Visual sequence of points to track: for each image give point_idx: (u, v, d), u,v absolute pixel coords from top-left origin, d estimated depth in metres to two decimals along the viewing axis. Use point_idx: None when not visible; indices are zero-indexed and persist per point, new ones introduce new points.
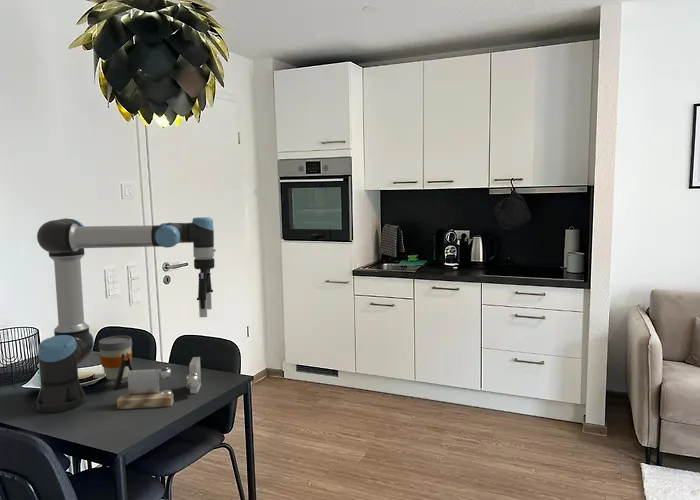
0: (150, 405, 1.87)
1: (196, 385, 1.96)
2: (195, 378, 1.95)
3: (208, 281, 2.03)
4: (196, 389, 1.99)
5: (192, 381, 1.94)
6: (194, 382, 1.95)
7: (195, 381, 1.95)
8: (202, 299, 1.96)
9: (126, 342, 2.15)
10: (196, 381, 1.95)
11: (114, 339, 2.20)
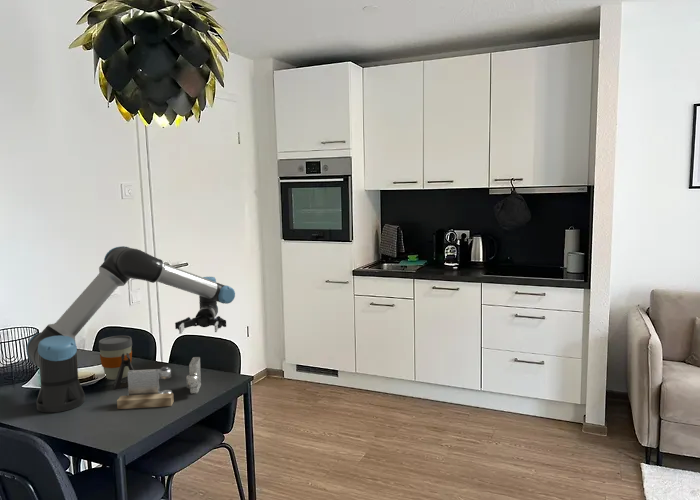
0: (150, 405, 1.87)
1: (196, 385, 1.96)
2: (195, 378, 1.95)
3: (209, 325, 2.25)
4: (196, 389, 1.99)
5: (192, 381, 1.94)
6: (194, 382, 1.95)
7: (195, 381, 1.95)
8: (224, 324, 2.20)
9: (126, 342, 2.15)
10: (196, 381, 1.95)
11: (114, 339, 2.20)
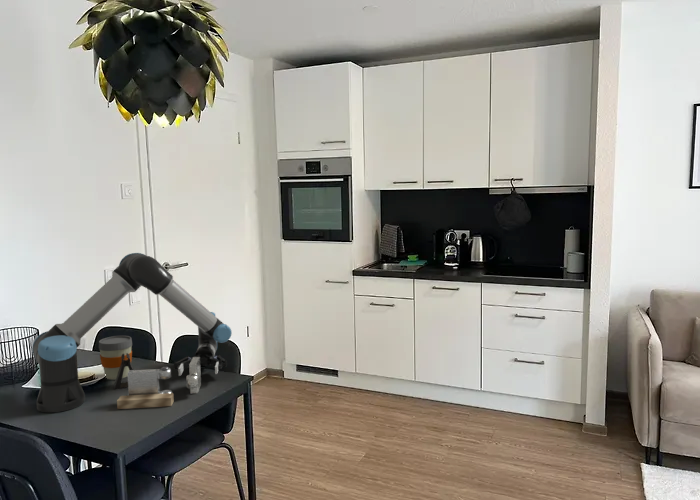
0: (150, 405, 1.87)
1: (196, 385, 1.96)
2: (195, 378, 1.95)
3: (209, 364, 2.19)
4: (196, 389, 1.99)
5: (192, 381, 1.94)
6: (194, 382, 1.95)
7: (195, 381, 1.95)
8: (224, 364, 2.14)
9: (126, 342, 2.15)
10: (196, 381, 1.95)
11: (114, 339, 2.20)
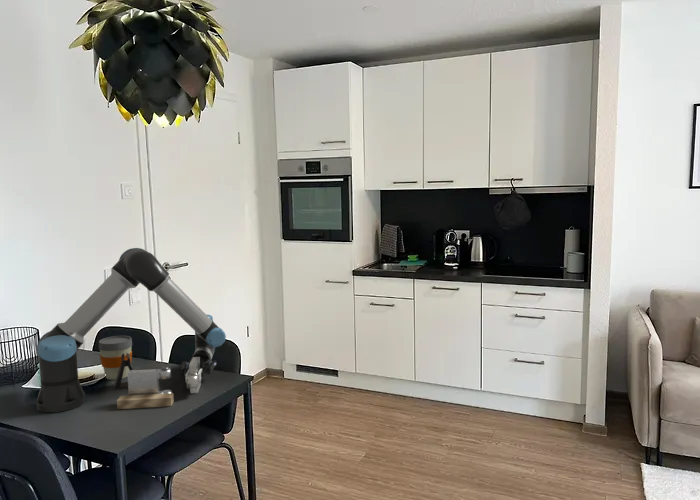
0: (150, 405, 1.87)
1: (196, 385, 1.96)
2: (195, 378, 1.95)
3: None
4: (196, 389, 1.99)
5: (192, 381, 1.94)
6: (193, 382, 1.95)
7: (195, 381, 1.95)
8: (208, 371, 2.05)
9: (126, 342, 2.15)
10: (196, 381, 1.95)
11: (114, 339, 2.20)
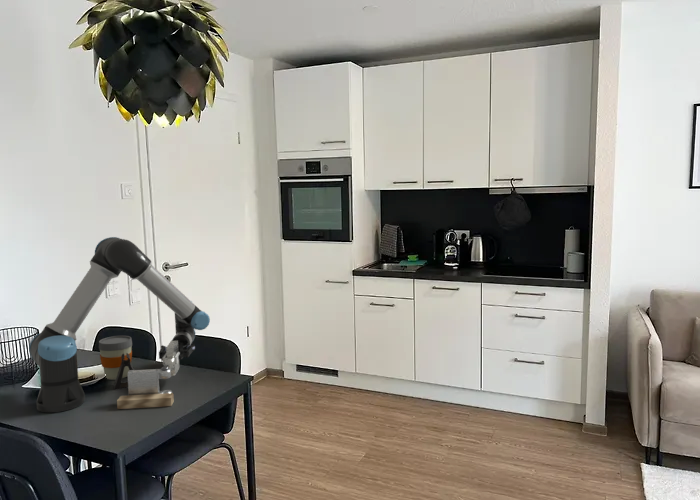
0: (150, 405, 1.87)
1: (173, 367, 1.98)
2: (172, 360, 1.97)
3: None
4: (173, 372, 2.02)
5: (169, 363, 1.97)
6: (170, 364, 1.97)
7: (172, 364, 1.97)
8: (186, 355, 2.07)
9: (126, 342, 2.15)
10: (173, 363, 1.98)
11: (114, 339, 2.20)
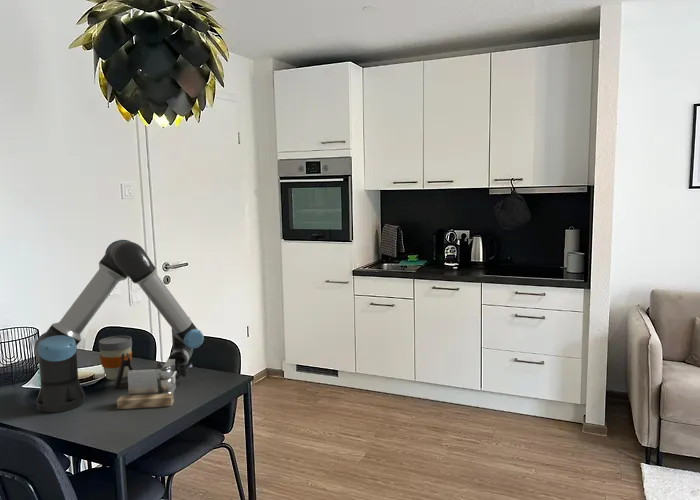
0: (150, 405, 1.87)
1: (169, 388, 1.93)
2: (168, 380, 1.92)
3: None
4: None
5: (165, 384, 1.91)
6: (167, 384, 1.92)
7: (168, 384, 1.92)
8: (183, 374, 2.02)
9: (126, 342, 2.15)
10: (169, 384, 1.92)
11: (114, 339, 2.20)
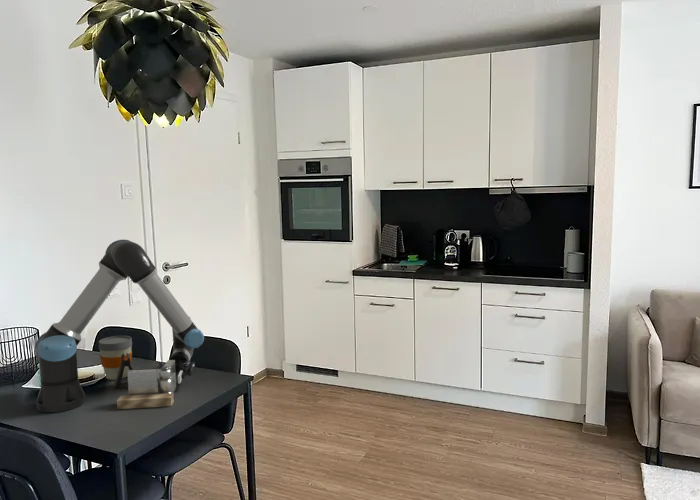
0: (150, 405, 1.87)
1: (170, 389, 1.92)
2: (168, 381, 1.92)
3: None
4: None
5: (165, 384, 1.91)
6: (167, 385, 1.91)
7: (168, 385, 1.92)
8: (188, 373, 2.02)
9: (126, 342, 2.15)
10: (169, 384, 1.92)
11: (114, 339, 2.20)
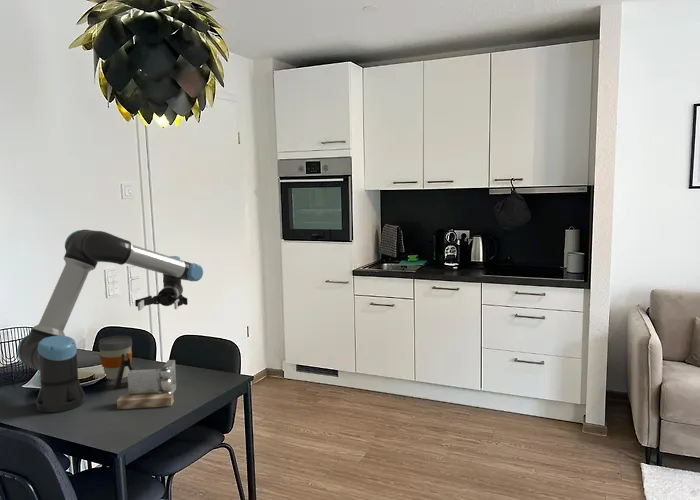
0: (150, 405, 1.87)
1: (170, 389, 1.92)
2: (168, 381, 1.92)
3: (171, 303, 2.22)
4: None
5: (165, 384, 1.91)
6: (167, 385, 1.91)
7: (168, 385, 1.92)
8: (185, 302, 2.17)
9: (126, 342, 2.15)
10: (169, 384, 1.92)
11: (114, 339, 2.20)
